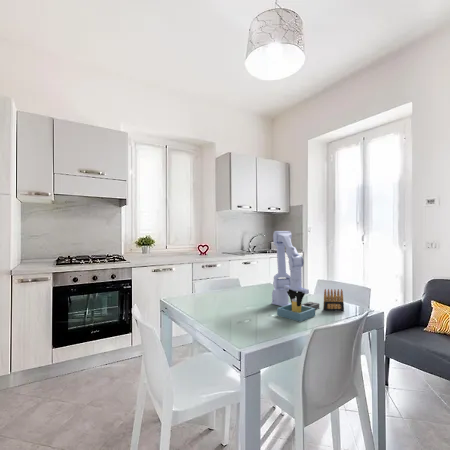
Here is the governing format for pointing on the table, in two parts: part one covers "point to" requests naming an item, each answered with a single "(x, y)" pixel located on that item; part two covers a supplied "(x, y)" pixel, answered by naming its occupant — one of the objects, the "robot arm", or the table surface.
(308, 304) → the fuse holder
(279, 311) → the parts tray
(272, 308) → the table surface
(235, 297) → the table surface
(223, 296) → the table surface
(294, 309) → the block
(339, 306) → the ammunition clip
